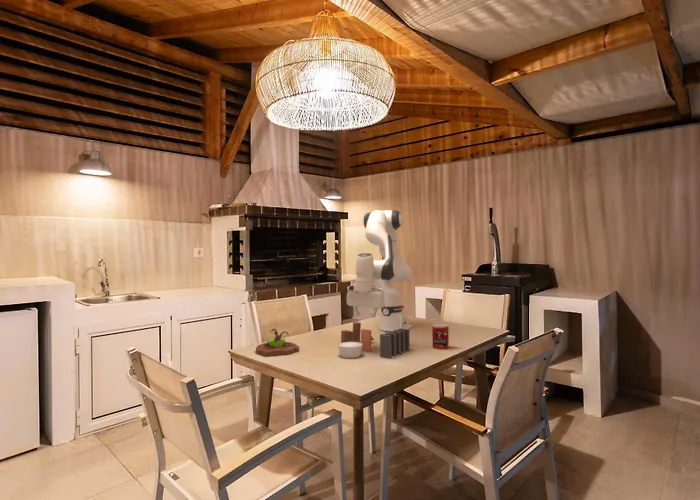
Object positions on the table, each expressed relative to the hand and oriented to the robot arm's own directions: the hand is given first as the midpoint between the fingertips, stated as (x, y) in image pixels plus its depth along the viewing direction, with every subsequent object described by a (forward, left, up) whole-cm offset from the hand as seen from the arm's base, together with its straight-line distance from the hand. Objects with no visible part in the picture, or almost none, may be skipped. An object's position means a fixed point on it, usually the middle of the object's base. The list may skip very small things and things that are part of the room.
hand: (365, 316), depth 196 cm
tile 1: (-12, +14, -17) cm, 25 cm away
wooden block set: (-9, -14, -17) cm, 23 cm away
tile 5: (+4, +14, -17) cm, 22 cm away
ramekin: (+11, -1, -17) cm, 20 cm away
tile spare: (0, 0, -17) cm, 17 cm away
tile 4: (0, +14, -17) cm, 22 cm away
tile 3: (-4, +14, -17) cm, 22 cm away
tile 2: (-8, +14, -17) cm, 23 cm away
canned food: (-26, +26, -17) cm, 40 cm away
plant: (+23, -36, -17) cm, 47 cm away
